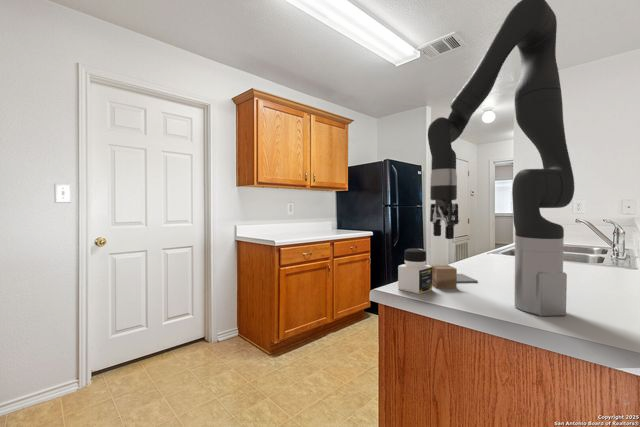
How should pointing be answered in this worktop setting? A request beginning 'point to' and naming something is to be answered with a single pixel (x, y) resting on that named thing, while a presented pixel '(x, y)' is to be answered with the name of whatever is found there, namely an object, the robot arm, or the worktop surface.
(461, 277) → the slate coaster
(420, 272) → the medicine bottle
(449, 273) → the walnut block
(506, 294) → the worktop surface
